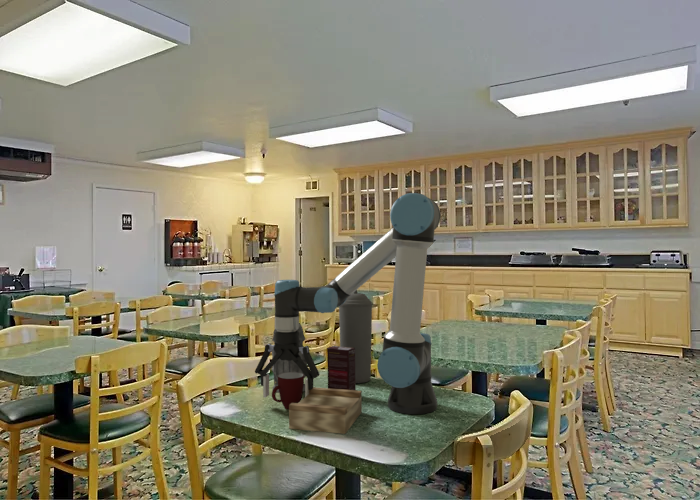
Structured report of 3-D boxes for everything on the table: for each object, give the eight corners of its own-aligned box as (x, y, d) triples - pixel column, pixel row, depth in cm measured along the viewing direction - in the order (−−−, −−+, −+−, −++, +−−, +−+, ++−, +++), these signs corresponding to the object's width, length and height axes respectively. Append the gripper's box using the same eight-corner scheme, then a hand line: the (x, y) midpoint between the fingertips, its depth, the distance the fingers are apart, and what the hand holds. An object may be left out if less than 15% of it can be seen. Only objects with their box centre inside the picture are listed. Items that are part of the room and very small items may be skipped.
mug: (282, 415, 149) (282, 381, 149) (266, 409, 155) (265, 377, 154) (309, 407, 156) (309, 375, 156) (293, 401, 162) (292, 370, 162)
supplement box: (356, 394, 170) (355, 347, 169) (349, 398, 165) (348, 350, 165) (334, 391, 174) (334, 345, 174) (326, 394, 170) (326, 347, 170)
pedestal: (361, 412, 151) (361, 390, 151) (345, 433, 134) (344, 409, 134) (311, 408, 156) (311, 387, 155) (289, 428, 138) (288, 404, 138)
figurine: (296, 396, 168) (296, 321, 167) (265, 390, 176) (265, 318, 176) (314, 389, 176) (314, 318, 175) (284, 383, 184) (283, 315, 184)
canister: (334, 383, 183) (334, 287, 183) (344, 374, 196) (343, 285, 196) (368, 385, 180) (368, 288, 180) (376, 376, 192) (375, 285, 192)
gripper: (329, 329, 156) (329, 397, 156) (255, 326, 162) (255, 391, 163) (321, 333, 148) (321, 405, 149) (244, 329, 155) (244, 398, 155)
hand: (286, 398), depth 156 cm, fingers open, 13 cm apart
